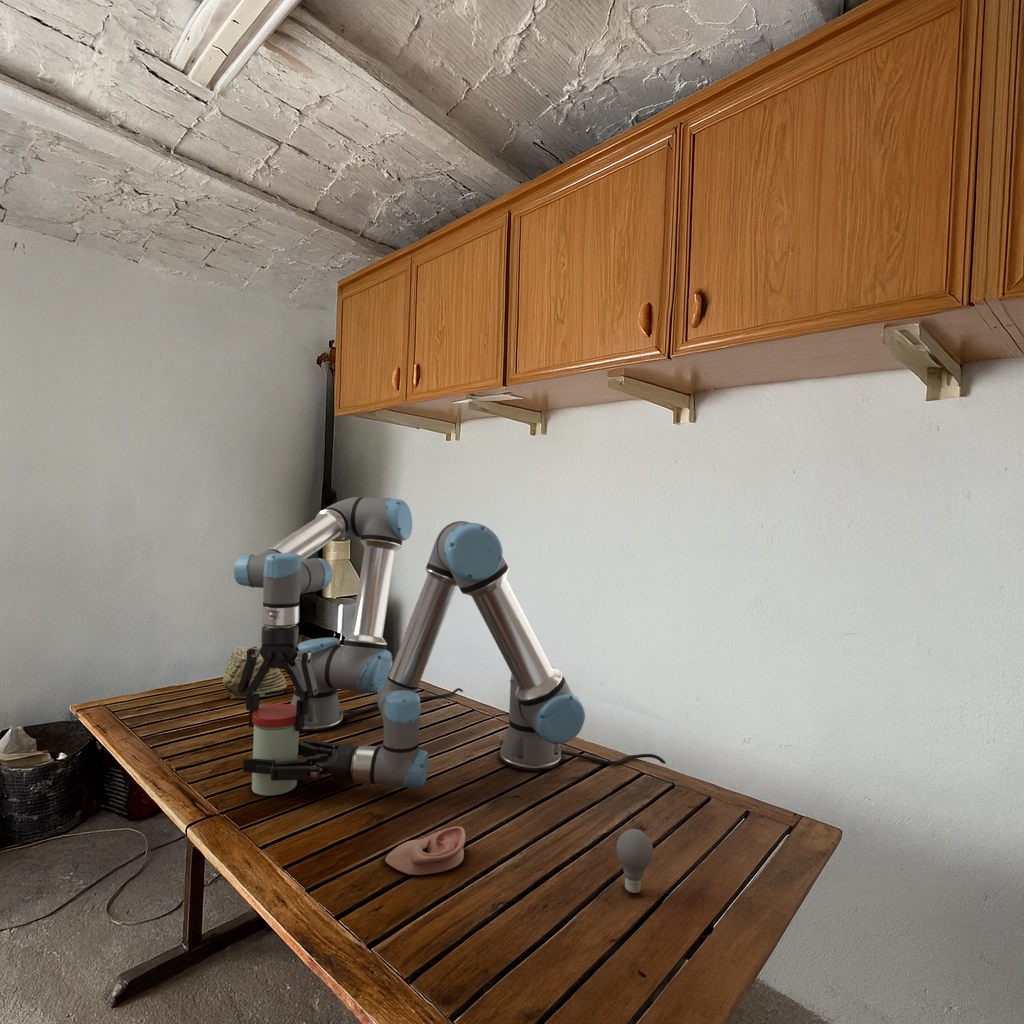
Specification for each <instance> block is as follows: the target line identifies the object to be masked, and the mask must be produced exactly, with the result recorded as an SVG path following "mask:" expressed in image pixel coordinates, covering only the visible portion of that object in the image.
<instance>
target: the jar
mask: <svg viewBox="0 0 1024 1024" xmlns="http://www.w3.org/2000/svg"><path fill="white" fill-rule="evenodd" d="M299 733H300V731H296V723H295V724H293V725H290V726H286V727H279V728H264V727H259V726H256V725H254V726H253V740H252V744H253V745H252V758H253V759H265V760H274V759H275V763H277V762H286V761H295V760H299V756H298V741H300V739H299V738H300V737H299V735H300V734H299ZM297 784H298V780H280V781H272V780H271V774H260V773H251V790H252V792H253V793H254V794H256V795H260V796H267V797H269V796H277V795H278V796H279V795H283V794H286V793H289V792H291V791H293V790H295V788H296V787H297Z"/></svg>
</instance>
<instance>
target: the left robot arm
mask: <svg viewBox="0 0 1024 1024" xmlns="http://www.w3.org/2000/svg"><path fill="white" fill-rule="evenodd" d="M412 533H413V517H412V512H411V509H410V506H409V504H408V503H407V502H406V501H405V500H403V499H399V498H391V497H366V496H365V497H364V496H353V497H348V498H346V499H342V500H340V501H337V502H335V503H333V504H330V505H329V506H327V507H325V508H324V509H322V510H320V511H319V512H317V514H316V516H315V519H312V521H310V522H308V523H306V524H305V525H303V526H302V527H300V528H299V529H298V530H296V531H294V532H292V533H290V534H288V536H286V537H284V538H283V539H281V540H280V541H278V542H277V543H275V544H273V545H272V546H270V547H269V548H267V549H266V550H263V551H262V552H261V553H259V554H253V553H251V554H243V555H241V556H239V557H238V558H237V560H236V561H235V563H234V566H233V577H234V580H235V582H236V583H237V584H238V585H240V586H243V587H250V588H252V589H253V588H259V589H262V590H263V593H262V594H263V597H262V598H263V599H262V600H263V601H262V611H261V612H262V615H261V616H262V617H261V624H262V625H263V626H262V627H261V637H260V639H261V640H260V642H261V646H260V647H257V646H252V647H249V648H250V649H248V650H247V661H246V664H245V667H244V670H243V673H242V676H241V680H240V683H239V686H238V689H237V691H238V692H239V693H241V692H242V693H244V694H245V695H246V698H245V709H246V711H248V728H254V724H253V723H252V714H253V711H254V710H256V709H258V708H260V697H259V694H257V693H256V694H255V692H257V689H258V687H259V686H260V684H261V682H262V681H263V679H264V677H265V676H266V674H267V673H268V671H269V669H270V668H278V669H279V670H284V671H285V673H286V674H288V677H289V679H290V681H291V683H292V685H293V695H292V696H293V697H292V699H291V702H290V705H295V706H296V731H299V732H301V733H316V732H325V731H329V730H332V729H335V728H337V727H339V726H340V725H342V723H343V722H344V715H345V714H360V713H365V712H368V711H371V710H374V709H377V708H379V707H378V704H375V705H372V706H369V707H366V708H363V709H356V710H352V709H351V710H343V709H342V706H341V702H340V699H339V695H338V690H342V691H350V692H357V693H359V694H376V693H378V691H379V689H380V687H381V686H382V685H383V684H384V683H385V682H386V680H387V678H388V675H389V672H390V670H391V667H392V664H393V654H392V652H390V651H389V650H388V649H387V647H388V643H387V642H386V640H385V638H384V637H383V636H384V631H385V622H386V616H387V611H388V610H387V608H388V603H389V596H390V589H391V584H392V583H391V582H392V576H393V570H394V563H395V556H396V552H398V551H399V550H400V549H402V546H403V541H406V540H408V539H410V537H411V535H412ZM351 537H355V538H360V543H361V545H362V546H363V548H364V551H363V557H362V563H361V570H360V575H359V582H358V588H357V595H356V600H355V607H354V612H353V618H352V623H351V624H352V625H351V630H350V634H349V635H348V636H346V637H345V638H344V639H343V645H340V644H341V641H340V639H339V638H337V637H320V638H319V637H318V638H313V639H307V640H304V641H302V642H299V629H300V627H299V626H298V624H299V623H300V598H301V595H302V594H306V593H307V594H308V593H311V592H318V591H320V590H323V589H325V588H327V587H328V586H329V585H330V584H331V582H332V580H333V575H334V572H333V567H332V565H331V563H329V561H327V560H326V559H324V558H320V557H312V556H313V555H314V554H315V553H317V552H319V551H320V550H321V549H323V548H324V547H325V546H327V545H328V544H330V543H331V542H338V541H340V540H342V539H343V538H351ZM310 557H311V558H310ZM259 655H261V656H262V658H263V659H264V661H263V663H262V665H261V666H260V669H259V671H258V672H257V674H256V676H255V677H254V679H253V681H252V682H251V684H250V681H251V678H252V675H253V671H254V668H255V665H256V662H257V658H258V657H259ZM249 684H250V686H249ZM457 692H460V693H463V692H464V690H463V689H462V688H460V687H457V688H456V689H454V690H453V691H452V692H449V693H443V694H435V695H427V696H419V697H420V701H421V700H428V699H429V700H430V699H438V698H444V697H450V696H453V695H454V694H456V693H457Z"/></svg>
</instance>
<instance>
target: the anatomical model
mask: <svg viewBox="0 0 1024 1024" xmlns="http://www.w3.org/2000/svg"><path fill="white" fill-rule="evenodd" d="M465 844H466V831H465V829H464V828H463V826H451V827H447V828H444V829H442V830H439V831H436V832H433V833H432V834H430V835H428V836H425V837H423V838H420V839H413V840H412V839H410V840H408V841H405V842H403V843H401V844H399V845H397V847H395V848H394V849H392V850H391V851H390V852H389V853H388V854H387V855H386V856H385V859H384V861H385V863H386V864H387V865H389V866H390V867H391V868H393V869H395V870H397V871H399V872H401V873H403V874H406V875H411V876H421V875H422V876H423V875H431V874H438V873H442V872H445V871H448V870H451V869H453V868H456V867H457V866H459V865H460V864H461V863H462V862H463V860H464V857H465V851H464V846H465Z"/></svg>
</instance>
